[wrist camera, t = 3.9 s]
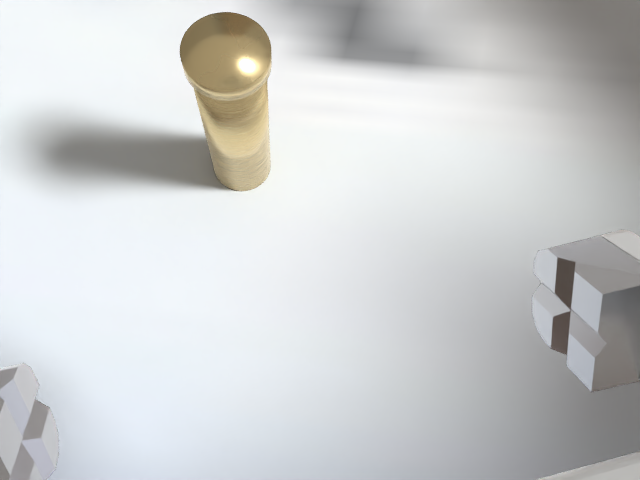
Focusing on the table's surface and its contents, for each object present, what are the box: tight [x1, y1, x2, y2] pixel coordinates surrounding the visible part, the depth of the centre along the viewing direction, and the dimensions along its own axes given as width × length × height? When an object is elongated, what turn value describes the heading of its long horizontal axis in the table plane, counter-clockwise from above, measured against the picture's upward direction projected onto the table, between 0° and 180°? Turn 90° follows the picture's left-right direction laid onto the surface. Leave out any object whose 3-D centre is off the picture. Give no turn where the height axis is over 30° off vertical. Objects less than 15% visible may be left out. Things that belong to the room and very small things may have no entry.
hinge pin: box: [180, 12, 271, 191], centre depth 27 cm, size 3×3×10 cm
